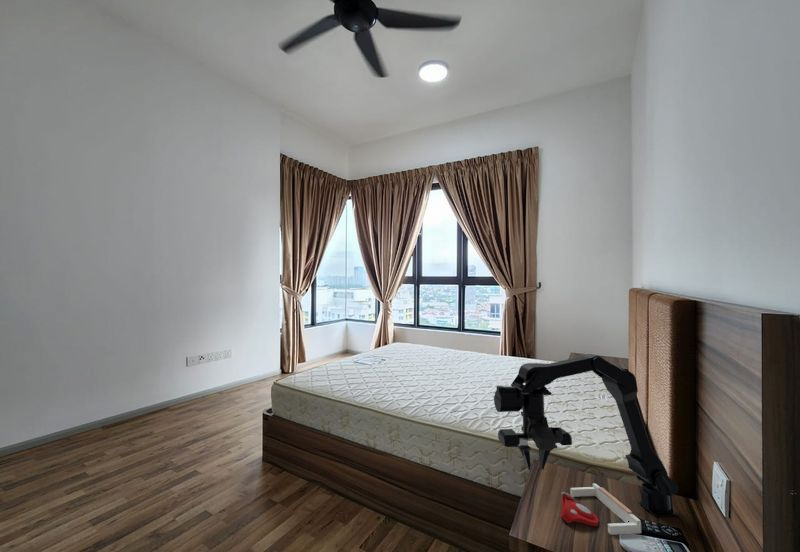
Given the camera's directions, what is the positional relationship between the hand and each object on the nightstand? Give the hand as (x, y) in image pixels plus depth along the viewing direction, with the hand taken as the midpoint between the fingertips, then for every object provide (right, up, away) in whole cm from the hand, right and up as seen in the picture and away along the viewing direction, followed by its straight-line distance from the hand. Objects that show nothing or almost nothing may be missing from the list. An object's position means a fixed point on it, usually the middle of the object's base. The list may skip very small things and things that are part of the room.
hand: (535, 469), depth 94 cm
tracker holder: (+11, -13, -1) cm, 17 cm away
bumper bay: (+19, -12, 0) cm, 22 cm away
